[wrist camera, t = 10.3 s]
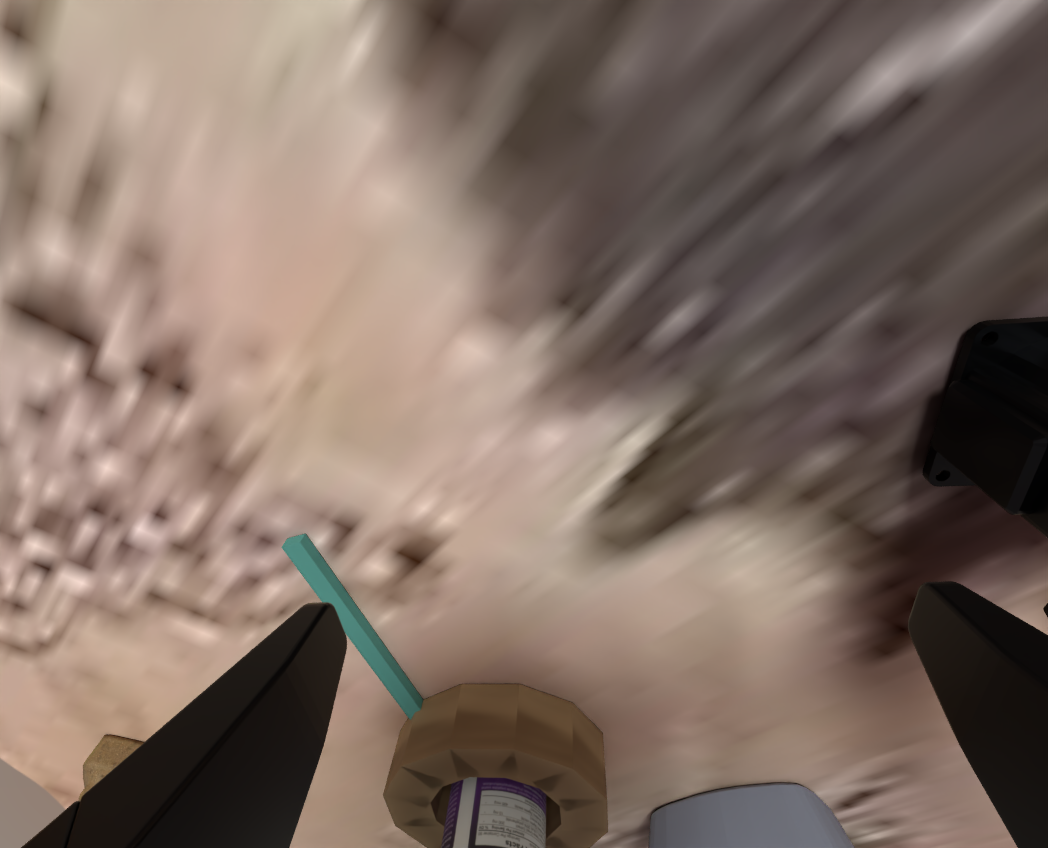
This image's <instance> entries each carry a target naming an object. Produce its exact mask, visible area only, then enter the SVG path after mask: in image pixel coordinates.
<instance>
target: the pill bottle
mask: <svg viewBox="0 0 1048 848" xmlns="http://www.w3.org/2000/svg"><path fill="white" fill-rule="evenodd" d="M545 841H546V794H545V793H544V792H543V791H542V790H540V789H539V788H536V787H533V786H530V785H527V784H524V783H521V782H517V781H514V780H511V779H508V778H484V777H469V778H466V779H463V780H460V781H458V782H455V783H452V785H451V791H450V797H449V803H448V809H447V815H446V821H445V827H444V833H443V839H442V845H441V848H545Z"/></svg>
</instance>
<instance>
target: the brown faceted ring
mask: <svg viewBox="0 0 1048 848" xmlns="http://www.w3.org/2000/svg"><path fill="white" fill-rule="evenodd" d="M469 777H484V778H508V779H511V780H514V781H517V782H521V783H524V784H527V785H530V786H533V787H536V788H539V789H540V790H542V791H543V792H544V793H545V794H546V841H545V848H590V847H591V846H592V845H593V844H594V843H596V842H597V841H598V840H599V839H600V838H601V837H602V836H604V835H605V834H606V833H607V832H608V816H607V793H606V777H605V762H604V746H603V733H602V732H601V731H600V730H599V729H598V728H597V727H596V726H595V725H594V724H593V723H592V722H591V721H590V720H589V719H588V718H587V717H586V716H585V715H584V714H583V713H582V712H581V711H580V710H579V709H578V708H577V707H576V706H575V705H574V704H573V703H572V702H569V701H566V700H563V699H560V698H557V697H555V696H552V695H549V694H546V693H543V692H540V691H538V690H535V689H532V688H529V687H526V686H523V685H521V684H461V685H458V686H456V687H453V688H451V689H448V690H446V691H444V692H441V693H439V694H436V695H434V696H432V697H429V698H427V699H424V700H423V703H422V707H421V710H420V711H417V712H415V713H414V715H413V717H412V718H411V720H410V719H409V718H408V719H407V721H406V723H405V724H404V726H403V728H402V729H401V731H400V734H399V738H398V742H397V745H396V749H395V753H394V756H393V760H392V764H391V767H390V771H389V775H388V778H387V782H386V786H385V789H384V793H383V796H384V799H385V801H386V804H387V806H388V809H389V811H390V814H391V816H392V819H393V821H394V824H395V826H396V827H398V828H399V829H401V830H402V831H404V832H405V833H407V834H408V835H409V836H411V837H412V838H414V839H415V840H417V841H418V842H420V843H421V844H422V845H424V846H425V847H427V848H441V845H442V839H443V833H444V827H445V821H446V815H447V809H448V803H449V797H450V791H451V785H452V783H455V782H458V781H460V780H463V779H466V778H469Z"/></svg>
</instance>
